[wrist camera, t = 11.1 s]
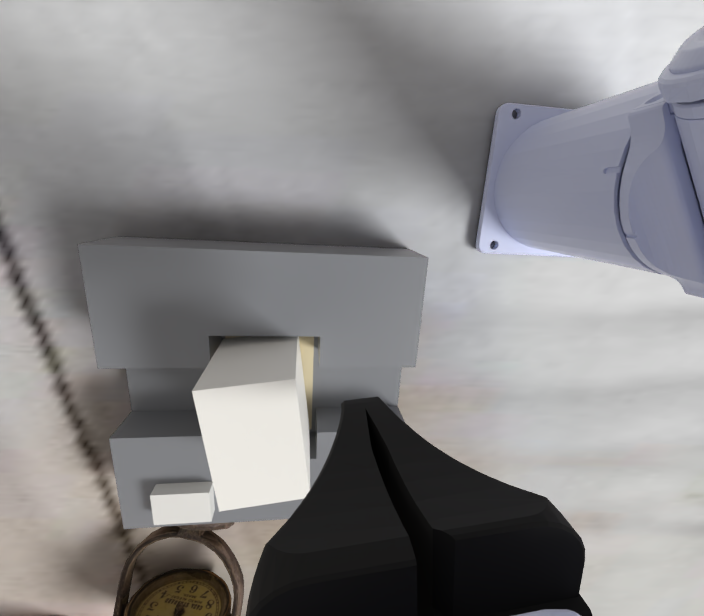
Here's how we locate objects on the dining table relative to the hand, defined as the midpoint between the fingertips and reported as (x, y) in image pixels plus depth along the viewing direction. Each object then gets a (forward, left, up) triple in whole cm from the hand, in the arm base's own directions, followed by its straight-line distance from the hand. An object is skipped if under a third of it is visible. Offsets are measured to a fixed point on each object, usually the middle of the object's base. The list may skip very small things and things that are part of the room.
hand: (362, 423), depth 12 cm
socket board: (+4, +3, -10) cm, 11 cm away
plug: (+4, +3, -9) cm, 10 cm away
